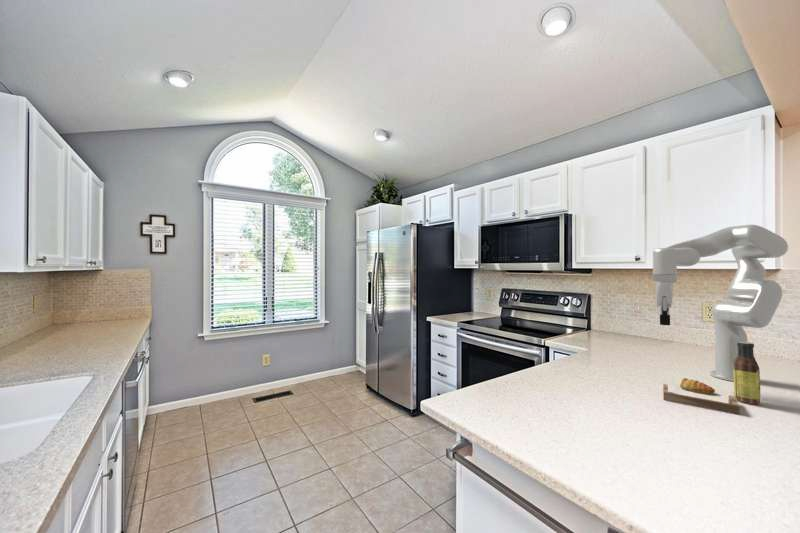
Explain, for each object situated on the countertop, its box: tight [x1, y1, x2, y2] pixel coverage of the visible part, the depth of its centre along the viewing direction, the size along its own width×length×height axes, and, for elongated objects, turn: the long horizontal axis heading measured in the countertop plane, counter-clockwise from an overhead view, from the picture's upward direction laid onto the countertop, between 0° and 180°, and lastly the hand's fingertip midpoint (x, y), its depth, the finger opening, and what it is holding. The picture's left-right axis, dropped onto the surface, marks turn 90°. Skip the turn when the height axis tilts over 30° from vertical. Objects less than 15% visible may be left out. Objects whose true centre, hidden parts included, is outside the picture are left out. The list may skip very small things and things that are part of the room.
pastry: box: [679, 377, 716, 396], centre depth 124 cm, size 9×7×4 cm
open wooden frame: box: [662, 383, 741, 415], centre depth 113 cm, size 11×18×2 cm, turn 52°
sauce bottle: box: [733, 341, 761, 405], centre depth 114 cm, size 7×6×20 cm
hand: (665, 324), depth 135 cm, fingers closed
